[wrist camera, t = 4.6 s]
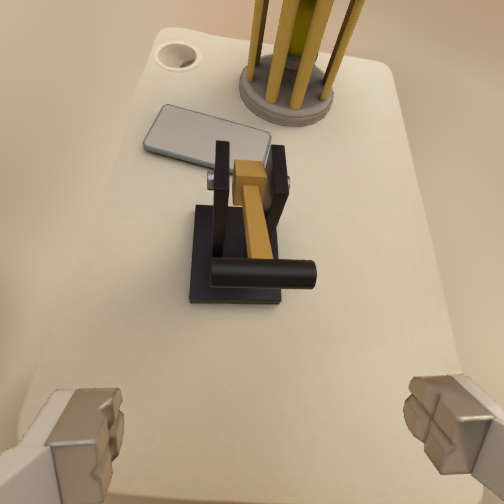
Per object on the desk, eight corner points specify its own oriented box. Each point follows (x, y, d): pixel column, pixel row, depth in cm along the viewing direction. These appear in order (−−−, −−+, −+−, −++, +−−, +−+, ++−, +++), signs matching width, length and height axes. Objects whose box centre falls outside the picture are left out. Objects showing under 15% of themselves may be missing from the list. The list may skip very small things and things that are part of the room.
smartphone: (260, 178, 38) (140, 145, 37) (258, 183, 38) (141, 151, 38) (272, 132, 41) (164, 101, 41) (271, 137, 42) (164, 108, 42)
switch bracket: (279, 304, 31) (324, 237, 19) (189, 303, 30) (178, 231, 18) (273, 214, 36) (306, 116, 24) (196, 210, 35) (190, 105, 23)
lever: (310, 302, 15) (321, 265, 14) (209, 300, 15) (210, 262, 13) (276, 190, 25) (281, 162, 23) (214, 187, 24) (215, 157, 23)
